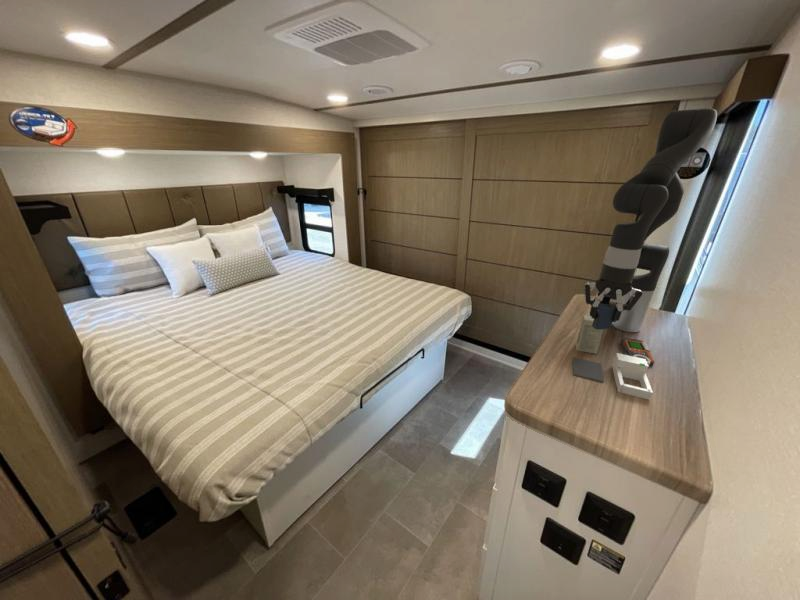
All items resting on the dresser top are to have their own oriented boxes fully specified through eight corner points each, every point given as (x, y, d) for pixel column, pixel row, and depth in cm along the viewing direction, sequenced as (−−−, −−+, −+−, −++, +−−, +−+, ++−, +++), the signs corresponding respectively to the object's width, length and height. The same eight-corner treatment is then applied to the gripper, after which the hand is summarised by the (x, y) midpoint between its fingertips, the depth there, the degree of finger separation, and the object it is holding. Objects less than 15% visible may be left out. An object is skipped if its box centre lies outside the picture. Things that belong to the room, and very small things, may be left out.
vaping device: (589, 325, 91) (600, 288, 86) (606, 324, 91) (617, 288, 86) (595, 330, 89) (606, 292, 84) (612, 329, 89) (624, 291, 84)
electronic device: (632, 360, 98) (622, 335, 110) (629, 367, 99) (619, 342, 111) (658, 365, 95) (644, 339, 107) (654, 372, 97) (641, 346, 109)
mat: (572, 358, 102) (573, 357, 102) (600, 364, 99) (600, 363, 99) (573, 375, 94) (573, 374, 94) (603, 382, 91) (603, 381, 91)
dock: (608, 350, 106) (613, 337, 104) (634, 355, 103) (639, 342, 101) (617, 391, 87) (623, 376, 85) (649, 399, 84) (656, 384, 82)
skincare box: (595, 348, 108) (604, 317, 102) (596, 354, 104) (606, 323, 99) (574, 344, 110) (583, 313, 105) (575, 350, 106) (584, 319, 101)
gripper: (649, 262, 82) (630, 318, 89) (588, 256, 88) (575, 309, 95) (656, 271, 76) (634, 330, 83) (590, 263, 82) (575, 319, 89)
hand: (602, 318), depth 89 cm, fingers closed on vaping device, 4 cm apart
